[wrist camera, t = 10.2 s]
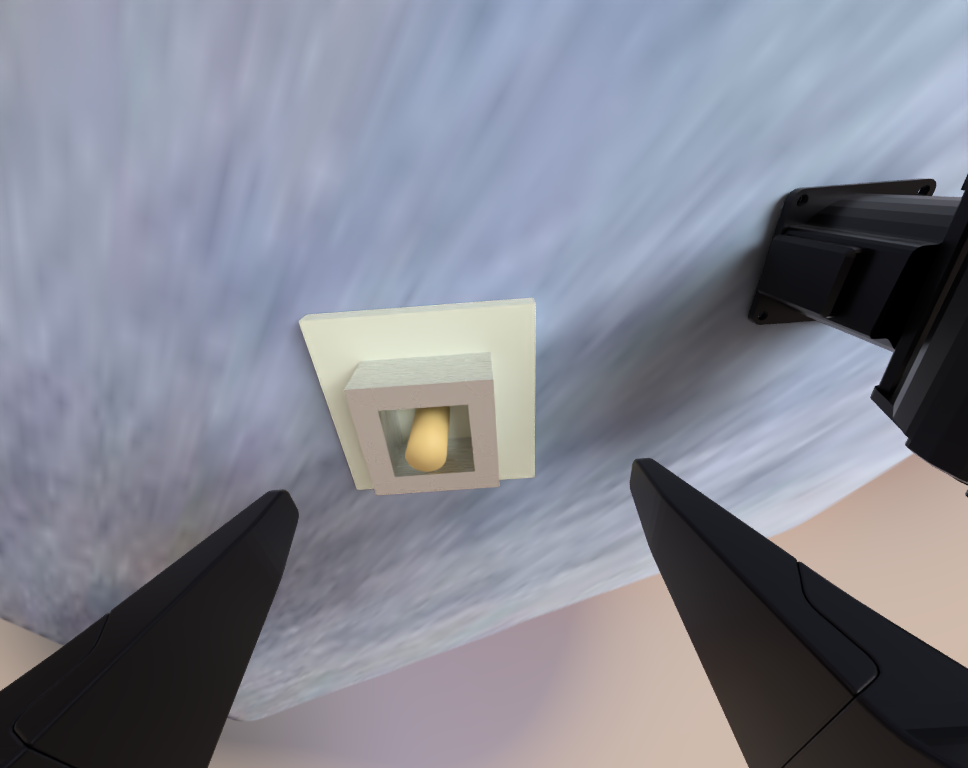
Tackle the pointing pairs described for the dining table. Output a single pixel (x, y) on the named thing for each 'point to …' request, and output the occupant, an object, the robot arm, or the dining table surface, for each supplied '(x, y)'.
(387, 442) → the link
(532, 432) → the keeper
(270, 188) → the dining table surface
